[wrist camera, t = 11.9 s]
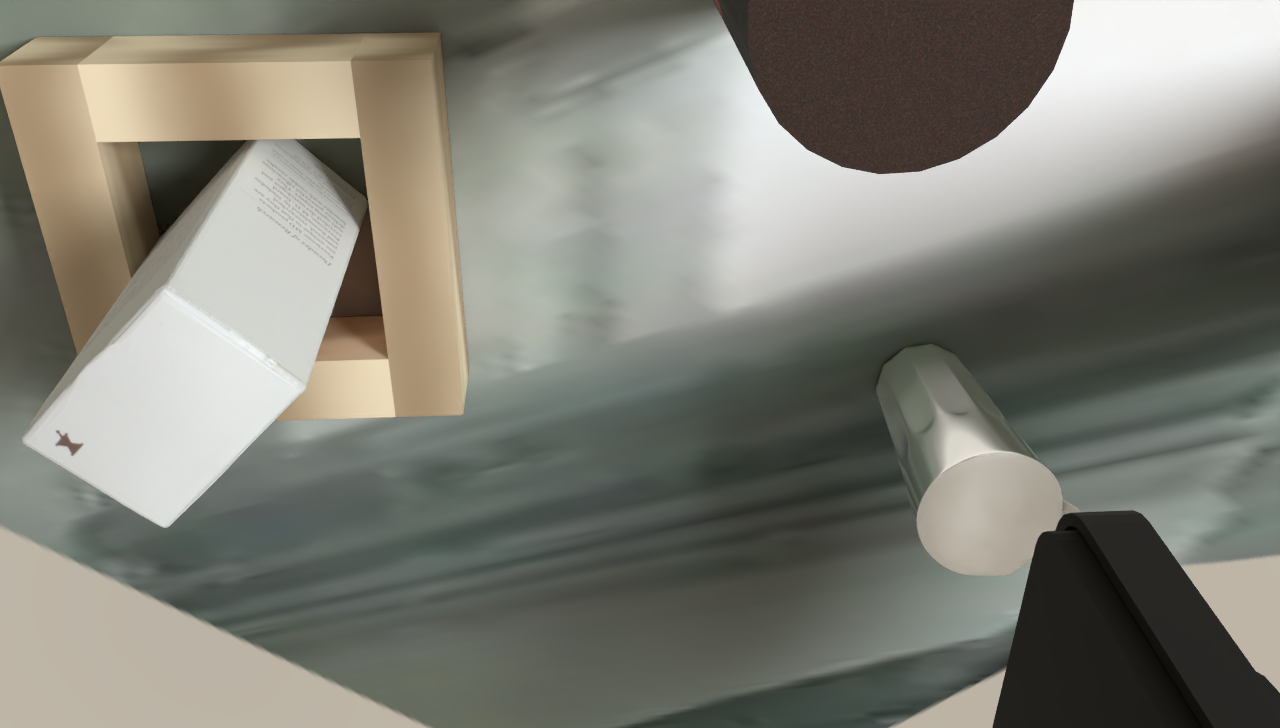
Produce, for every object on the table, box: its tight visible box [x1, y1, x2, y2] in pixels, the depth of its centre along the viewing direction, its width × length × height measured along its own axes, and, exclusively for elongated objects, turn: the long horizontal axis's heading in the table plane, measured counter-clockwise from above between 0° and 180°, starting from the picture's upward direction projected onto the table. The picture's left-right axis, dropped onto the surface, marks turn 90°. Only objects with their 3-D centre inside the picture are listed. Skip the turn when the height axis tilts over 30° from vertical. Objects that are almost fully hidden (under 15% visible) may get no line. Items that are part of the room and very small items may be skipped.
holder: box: [0, 33, 469, 421], centre depth 36 cm, size 12×12×3 cm
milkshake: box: [876, 344, 1082, 576], centre depth 38 cm, size 4×5×10 cm
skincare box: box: [22, 139, 368, 528], centre depth 32 cm, size 6×4×12 cm
